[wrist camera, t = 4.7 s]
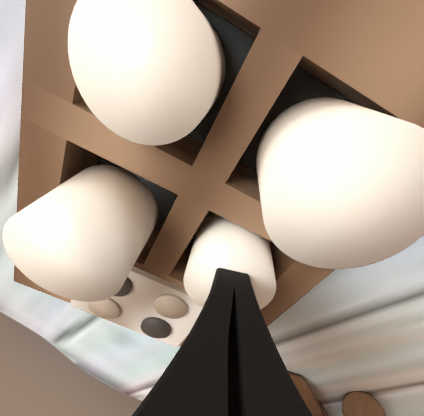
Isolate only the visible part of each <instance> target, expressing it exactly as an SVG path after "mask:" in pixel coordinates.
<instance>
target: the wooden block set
mask: <svg viewBox="0 0 424 416" xmlns="http://www.w3.org/2000/svg"><path fill="white" fill-rule="evenodd" d="M289 374H290V376H291V378H292V380H293V382H294V384H295V386H296V387H297V389H298V391H299V393H300V395H301V396H302V398H303V400H304V402H305V403H306V405H307V407H308V408H309V410H310V412H311V413H312V415H313V416H328V415H327V413H326V411H325V410H324V408H323V406H322V405H321V404H320V403H318V402H317V400H316V399H315V397H314V395H313V393H312V392H311V390H310V388H309V386H308V385H307V383H306V381H305V380H304V379H303V378H302V377H301V376H300V375H297V374H294V373H290V372H289ZM342 412H343V415H344V416H385V413H384V411H383V409H382V407H381V405H380V404H379V403H378V402H377V401H376V400H375V399H374V398H373V397H371V396H370V395H368V394H366V393H363V392H351V393H349V394H348V395H347V396H346V397H345V398H344V400H343V403H342Z"/></svg>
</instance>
